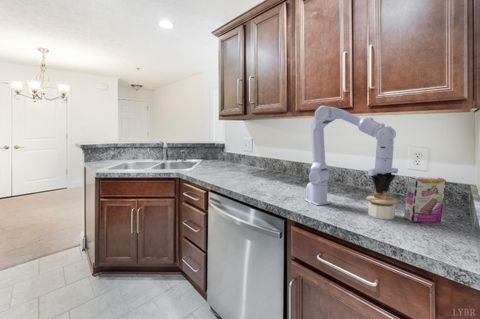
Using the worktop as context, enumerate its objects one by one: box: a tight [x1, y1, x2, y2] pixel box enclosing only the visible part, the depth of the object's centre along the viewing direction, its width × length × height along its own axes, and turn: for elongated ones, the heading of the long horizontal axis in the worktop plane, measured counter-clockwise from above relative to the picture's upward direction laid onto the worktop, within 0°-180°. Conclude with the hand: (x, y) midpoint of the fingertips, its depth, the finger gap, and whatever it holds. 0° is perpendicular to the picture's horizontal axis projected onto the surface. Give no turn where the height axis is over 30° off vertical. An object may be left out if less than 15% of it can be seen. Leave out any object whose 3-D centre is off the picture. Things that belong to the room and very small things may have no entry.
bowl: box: [367, 201, 396, 220], centre depth 100 cm, size 9×9×5 cm
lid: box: [366, 189, 398, 205], centre depth 99 cm, size 10×10×4 cm
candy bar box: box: [403, 176, 447, 223], centre depth 94 cm, size 11×5×16 cm, turn 92°
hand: (381, 192), depth 99 cm, fingers closed on lid, 2 cm apart
